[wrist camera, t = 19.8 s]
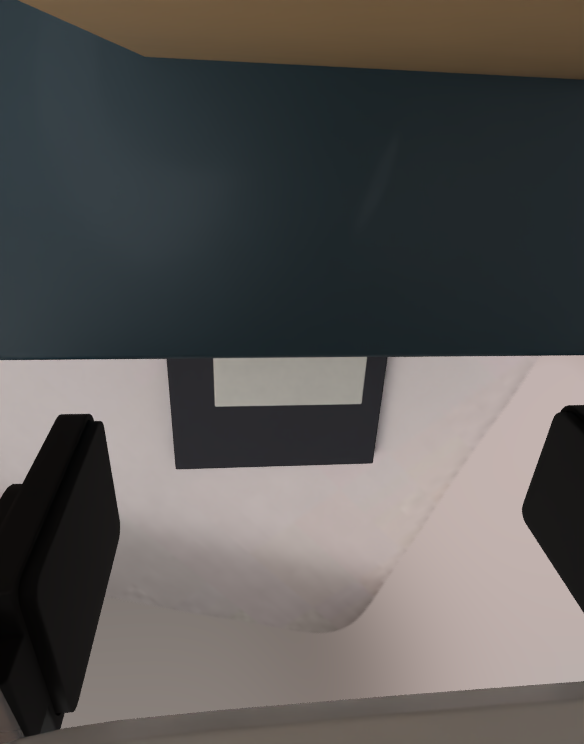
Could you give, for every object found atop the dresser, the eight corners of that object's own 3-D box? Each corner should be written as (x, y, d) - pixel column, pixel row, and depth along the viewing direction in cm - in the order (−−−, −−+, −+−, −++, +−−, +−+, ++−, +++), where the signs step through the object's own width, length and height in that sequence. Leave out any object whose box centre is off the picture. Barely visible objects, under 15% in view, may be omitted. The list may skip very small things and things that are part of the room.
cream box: (214, 227, 20) (209, 259, 16) (351, 230, 21) (379, 261, 17) (218, 353, 23) (214, 407, 19) (340, 352, 24) (361, 404, 20)
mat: (157, 220, 20) (155, 223, 20) (402, 225, 22) (405, 228, 21) (176, 463, 26) (175, 469, 26) (370, 457, 27) (372, 463, 27)
